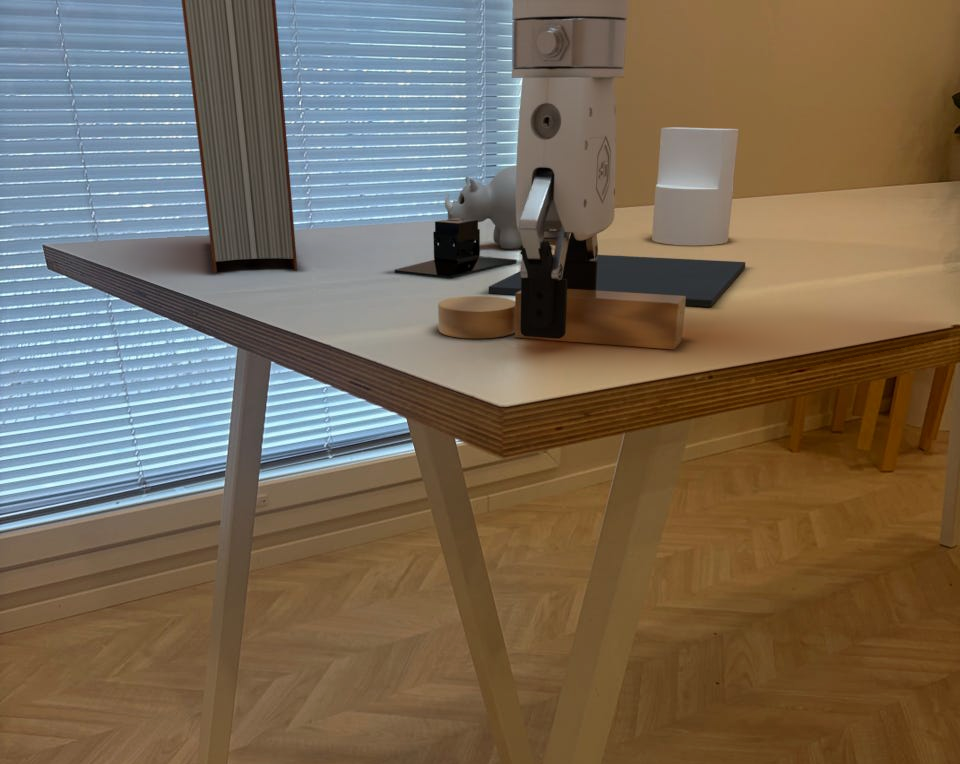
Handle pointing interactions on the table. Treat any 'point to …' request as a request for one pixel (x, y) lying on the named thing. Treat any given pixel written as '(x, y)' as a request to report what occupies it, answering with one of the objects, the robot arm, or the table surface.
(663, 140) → the cylinder with rectangular tab
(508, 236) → the round bodied animal figurine
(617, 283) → the mat
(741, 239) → the table surface
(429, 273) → the black block on plate
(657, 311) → the wooden disc with bar
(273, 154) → the book
